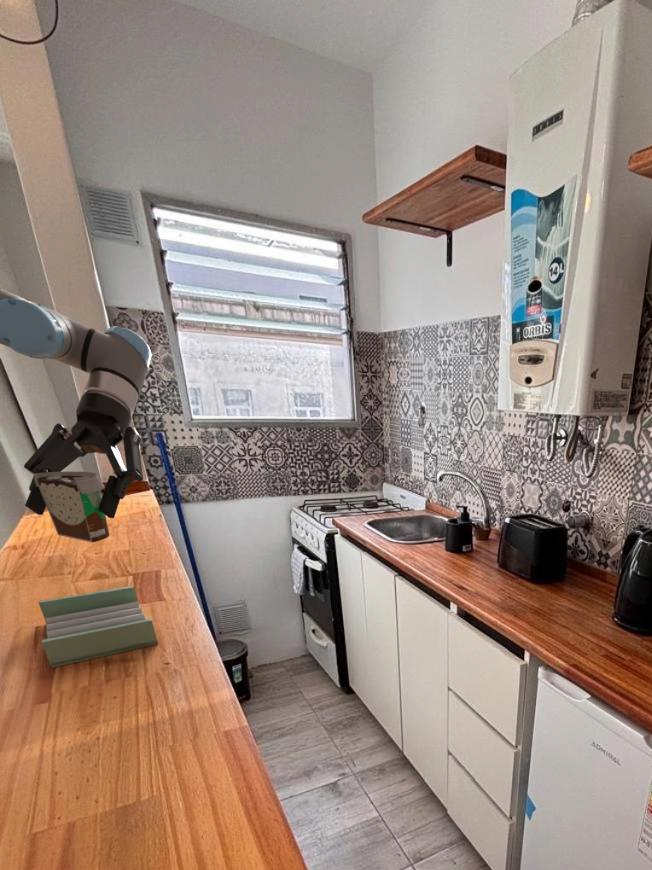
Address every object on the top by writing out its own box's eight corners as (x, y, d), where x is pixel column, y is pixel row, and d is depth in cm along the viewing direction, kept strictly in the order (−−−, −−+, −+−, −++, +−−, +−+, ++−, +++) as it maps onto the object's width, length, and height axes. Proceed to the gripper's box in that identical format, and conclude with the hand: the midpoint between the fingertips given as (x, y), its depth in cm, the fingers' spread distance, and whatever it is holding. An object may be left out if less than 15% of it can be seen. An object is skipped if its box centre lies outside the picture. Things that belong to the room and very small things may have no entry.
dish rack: (46, 623, 84) (38, 601, 82) (139, 606, 91) (133, 585, 89) (51, 668, 71) (41, 642, 69) (158, 644, 79) (152, 620, 77)
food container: (134, 535, 89) (118, 475, 84) (97, 543, 84) (78, 480, 79) (89, 526, 93) (72, 468, 89) (52, 533, 88) (31, 473, 84)
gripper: (184, 424, 95) (154, 527, 88) (58, 419, 96) (18, 521, 89) (160, 393, 88) (126, 502, 81) (24, 387, 89) (-22, 495, 82)
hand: (69, 512), depth 85 cm, fingers closed on food container, 11 cm apart
